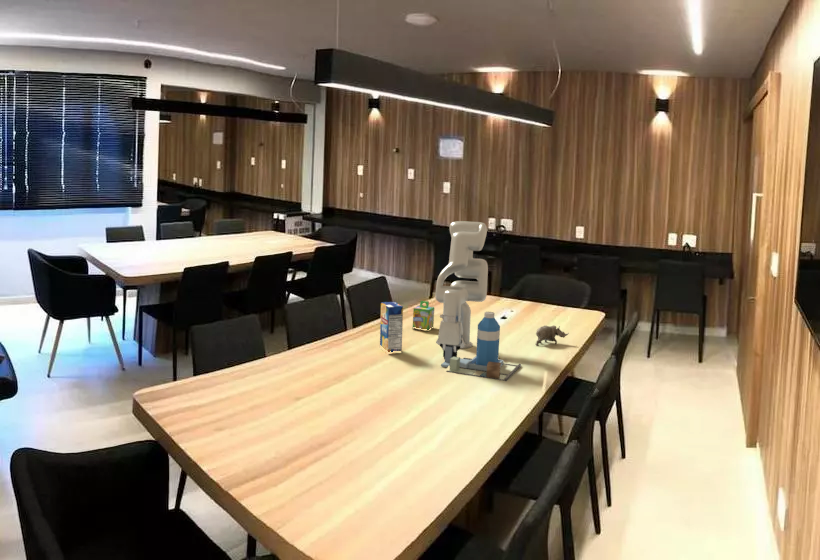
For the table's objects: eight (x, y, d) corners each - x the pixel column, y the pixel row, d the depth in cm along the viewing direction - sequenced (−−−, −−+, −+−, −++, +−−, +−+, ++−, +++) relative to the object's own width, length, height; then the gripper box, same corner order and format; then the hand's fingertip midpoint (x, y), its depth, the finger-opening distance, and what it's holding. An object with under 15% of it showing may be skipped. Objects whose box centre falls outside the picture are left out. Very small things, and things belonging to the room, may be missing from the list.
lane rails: (445, 374, 281) (446, 369, 281) (463, 360, 302) (464, 355, 302) (506, 384, 271) (506, 378, 271) (520, 369, 292) (521, 363, 291)
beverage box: (387, 354, 308) (388, 307, 305) (379, 348, 318) (380, 302, 315) (401, 353, 311) (403, 306, 307) (393, 347, 321) (394, 301, 317)
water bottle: (485, 374, 283) (488, 316, 279) (471, 368, 291) (473, 311, 286) (502, 371, 288) (505, 313, 284) (487, 365, 296) (490, 309, 292)
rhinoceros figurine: (524, 337, 336) (543, 313, 335) (543, 351, 341) (561, 328, 341) (532, 343, 329) (550, 318, 328) (550, 357, 334) (569, 333, 333)
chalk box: (412, 329, 355) (413, 302, 353) (417, 326, 364) (418, 299, 362) (428, 331, 353) (429, 303, 350) (434, 327, 361) (435, 300, 359)
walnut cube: (486, 376, 276) (487, 364, 275) (487, 373, 280) (488, 361, 280) (498, 378, 274) (499, 366, 274) (500, 374, 279) (500, 362, 278)
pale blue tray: (441, 366, 291) (441, 348, 290) (451, 359, 303) (451, 341, 301) (494, 374, 282) (495, 356, 281) (503, 366, 293) (504, 348, 292)
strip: (448, 373, 282) (448, 359, 281) (453, 369, 288) (453, 355, 287) (472, 377, 278) (472, 362, 277) (476, 373, 283) (477, 359, 282)
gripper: (430, 318, 293) (429, 359, 296) (466, 322, 287) (465, 364, 290) (436, 314, 300) (435, 354, 303) (472, 318, 293) (470, 359, 296)
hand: (449, 359), depth 296 cm, fingers closed on pale blue tray, 3 cm apart
